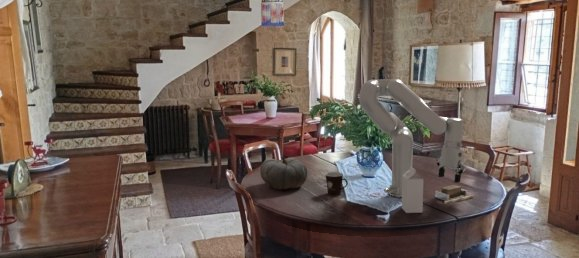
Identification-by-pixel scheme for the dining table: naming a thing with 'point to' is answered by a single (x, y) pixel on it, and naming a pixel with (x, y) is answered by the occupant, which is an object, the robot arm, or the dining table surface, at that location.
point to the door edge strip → (458, 199)
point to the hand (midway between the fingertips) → (449, 179)
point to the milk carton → (412, 192)
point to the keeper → (446, 196)
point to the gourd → (283, 173)
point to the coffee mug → (334, 183)
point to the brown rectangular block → (452, 191)
